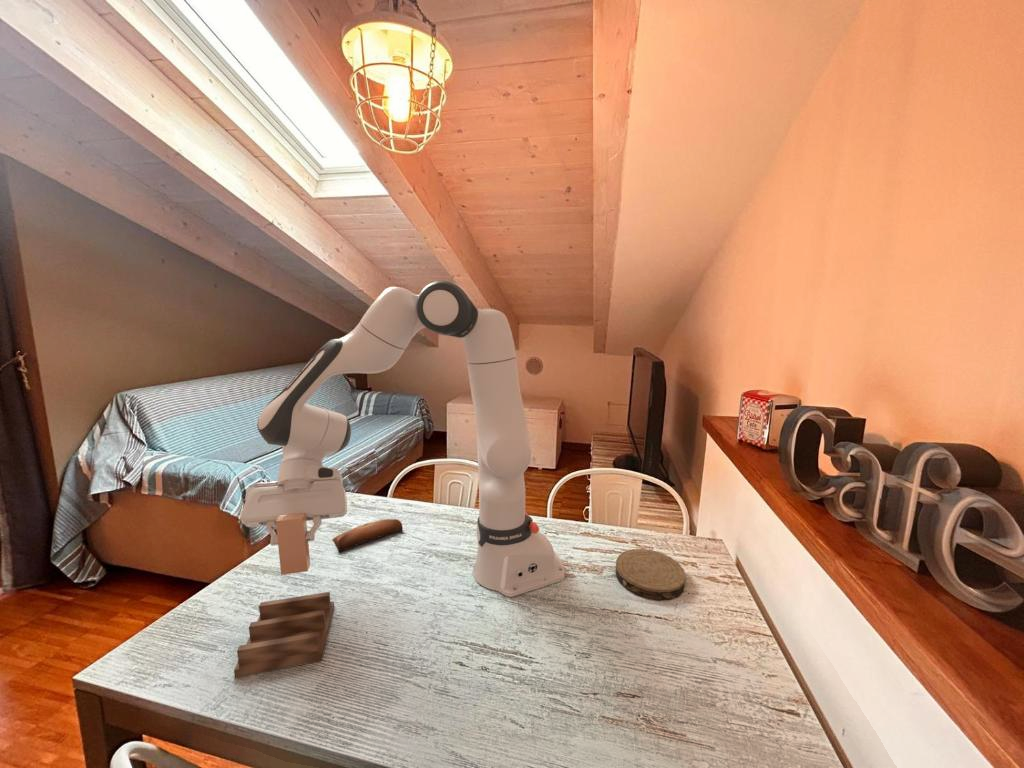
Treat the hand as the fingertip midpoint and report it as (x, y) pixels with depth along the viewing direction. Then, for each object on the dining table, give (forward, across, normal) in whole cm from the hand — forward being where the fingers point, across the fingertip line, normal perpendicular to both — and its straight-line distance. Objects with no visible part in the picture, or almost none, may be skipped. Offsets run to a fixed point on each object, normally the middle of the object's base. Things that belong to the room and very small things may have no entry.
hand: (292, 542), depth 84 cm
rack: (+17, 0, +6) cm, 18 cm away
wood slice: (+18, +79, +6) cm, 81 cm away
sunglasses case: (-8, +11, +32) cm, 34 cm away
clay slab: (+4, 0, +5) cm, 7 cm away
